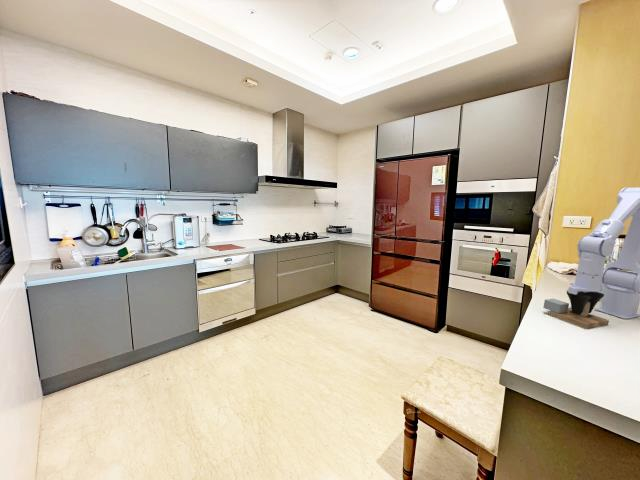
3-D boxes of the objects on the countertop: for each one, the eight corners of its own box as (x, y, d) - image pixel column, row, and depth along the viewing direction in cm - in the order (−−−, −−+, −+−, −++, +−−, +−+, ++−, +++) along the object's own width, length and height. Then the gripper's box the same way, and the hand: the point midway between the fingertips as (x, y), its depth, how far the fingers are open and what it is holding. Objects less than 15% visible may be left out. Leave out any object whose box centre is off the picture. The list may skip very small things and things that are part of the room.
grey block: (551, 306, 90) (553, 298, 90) (567, 312, 86) (569, 303, 86) (543, 307, 89) (544, 299, 88) (558, 313, 85) (560, 304, 84)
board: (569, 311, 91) (570, 307, 90) (607, 325, 81) (608, 320, 81) (548, 315, 87) (549, 310, 87) (586, 329, 78) (587, 324, 78)
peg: (577, 315, 87) (580, 299, 87) (589, 320, 84) (592, 302, 84) (571, 316, 86) (574, 300, 86) (583, 321, 83) (586, 303, 83)
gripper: (587, 269, 89) (579, 305, 91) (560, 271, 85) (552, 309, 87) (615, 274, 82) (606, 314, 85) (587, 277, 78) (578, 319, 80)
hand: (581, 312), depth 85 cm, fingers open, 4 cm apart
